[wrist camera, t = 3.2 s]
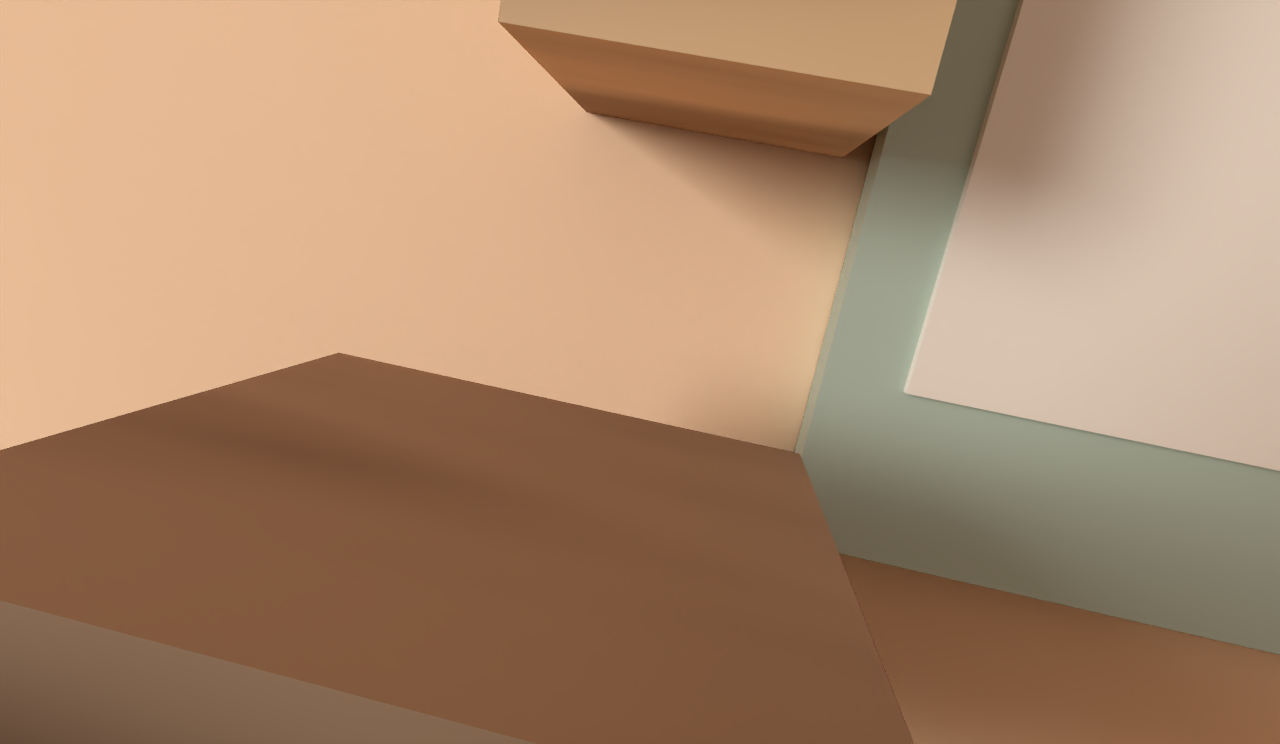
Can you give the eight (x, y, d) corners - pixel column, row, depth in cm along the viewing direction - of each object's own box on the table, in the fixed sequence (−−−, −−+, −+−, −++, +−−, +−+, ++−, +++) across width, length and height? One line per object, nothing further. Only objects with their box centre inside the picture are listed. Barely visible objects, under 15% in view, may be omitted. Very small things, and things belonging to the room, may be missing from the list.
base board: (1374, 658, 12) (1431, 694, 11) (776, 522, 13) (780, 544, 12) (1891, -312, 9) (2040, -382, 8) (1015, -401, 10) (1049, -474, 9)
